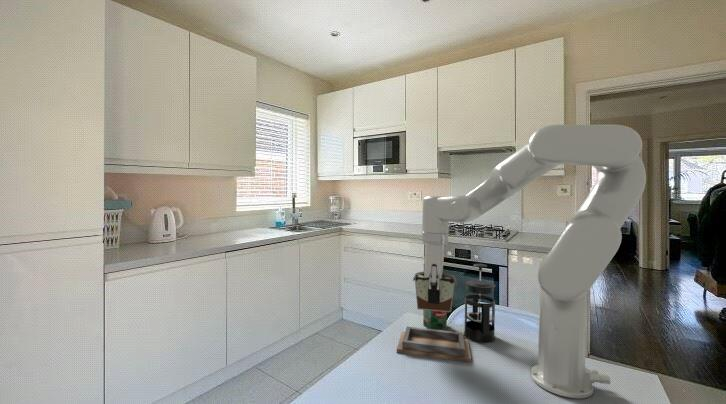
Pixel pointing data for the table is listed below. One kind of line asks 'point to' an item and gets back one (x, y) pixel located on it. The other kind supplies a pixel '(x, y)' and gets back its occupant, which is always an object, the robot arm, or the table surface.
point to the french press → (479, 321)
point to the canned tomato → (435, 319)
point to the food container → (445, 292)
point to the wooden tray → (434, 344)
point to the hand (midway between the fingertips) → (434, 299)
